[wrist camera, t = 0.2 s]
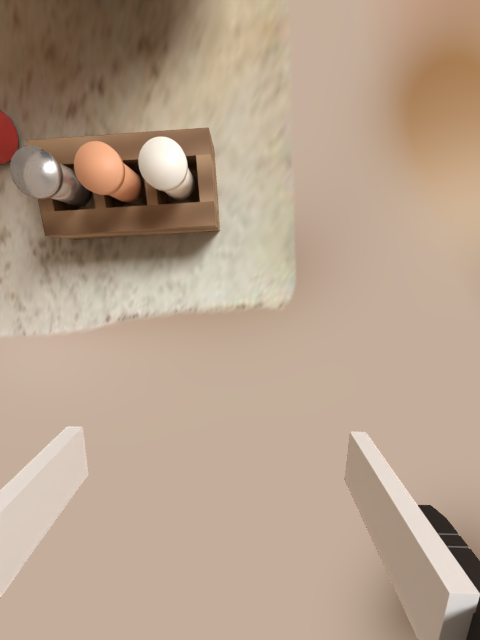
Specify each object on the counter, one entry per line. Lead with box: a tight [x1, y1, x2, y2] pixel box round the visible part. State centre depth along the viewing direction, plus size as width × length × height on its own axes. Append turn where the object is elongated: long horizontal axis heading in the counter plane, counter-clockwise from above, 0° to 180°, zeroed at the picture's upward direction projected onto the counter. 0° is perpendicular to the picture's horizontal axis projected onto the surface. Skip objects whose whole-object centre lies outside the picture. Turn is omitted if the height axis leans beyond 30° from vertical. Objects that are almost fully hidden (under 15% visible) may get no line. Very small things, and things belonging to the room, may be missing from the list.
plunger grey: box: [10, 146, 93, 206], centre depth 29 cm, size 4×4×7 cm
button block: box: [26, 128, 220, 239], centre depth 34 cm, size 10×20×6 cm, turn 93°
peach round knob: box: [74, 141, 143, 203], centre depth 29 cm, size 4×4×7 cm
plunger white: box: [138, 137, 195, 200], centre depth 29 cm, size 4×4×7 cm
